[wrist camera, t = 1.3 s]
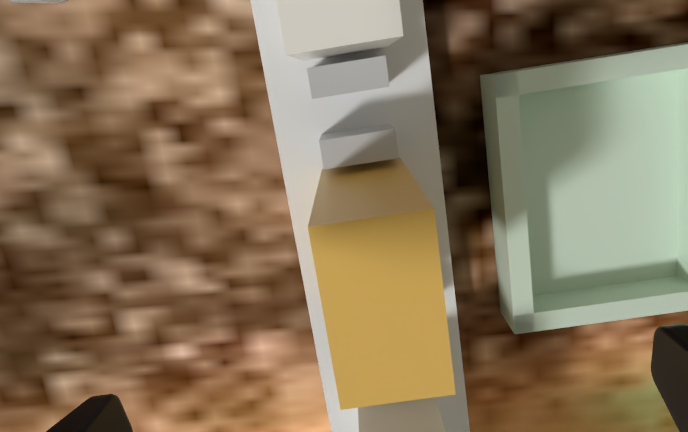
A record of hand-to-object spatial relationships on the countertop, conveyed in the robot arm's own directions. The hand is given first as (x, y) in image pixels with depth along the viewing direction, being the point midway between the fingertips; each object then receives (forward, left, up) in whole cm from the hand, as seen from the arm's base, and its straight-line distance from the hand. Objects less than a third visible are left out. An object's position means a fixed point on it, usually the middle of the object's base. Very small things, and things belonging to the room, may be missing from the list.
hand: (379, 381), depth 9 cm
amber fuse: (-1, 0, -12) cm, 12 cm away
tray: (-1, -9, -13) cm, 16 cm away
